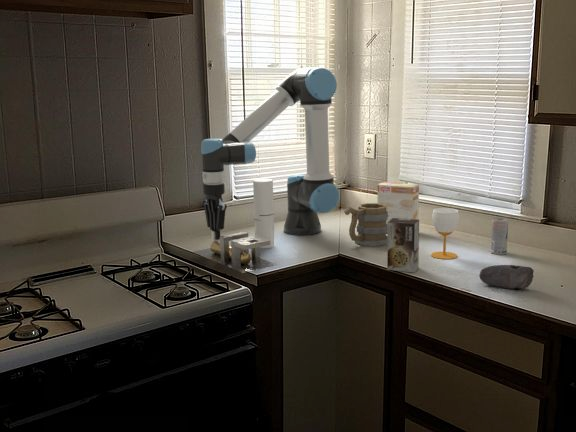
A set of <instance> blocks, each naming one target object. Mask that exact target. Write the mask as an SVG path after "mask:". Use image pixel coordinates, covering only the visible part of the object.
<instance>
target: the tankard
mask: <svg viewBox="0 0 576 432" xmlns="http://www.w3.org/2000/svg"><path fill="white" fill-rule="evenodd" d="M357 207H358V208H357V209H355V208H352V207H350V206H349V207H347V208H346V209H345V210H344V213H345V215H346V216H349V215H350V214H351V221H350V225H349V229H348V231H349V233H348V235H349V237H350V239H351V241H352V242H354V243H355V244H357V245H359V246H363V247H381V246H387V245H388V235H387V234H388V233H387V230H388V229H387V224H386V220H387V218H388V211H386V205H384V204H378V203H377V202H372V203H371V202H367V203H361V204H359V205H358V206H357ZM356 233H357V234H356Z"/></svg>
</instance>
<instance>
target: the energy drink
mask: <svg viewBox="0 0 576 432" xmlns="http://www.w3.org/2000/svg"><path fill="white" fill-rule="evenodd" d="M508 232H509V220H508V219H507V218H504V217H495V218H492V220H491V234H490V235H491V236H490V253H491V254H493V255H497V256H498V255H499V256H502V255H506V254H507V250H508V249H507V248H508Z"/></svg>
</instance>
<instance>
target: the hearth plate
mask: <svg viewBox="0 0 576 432" xmlns="http://www.w3.org/2000/svg"><path fill="white" fill-rule="evenodd" d="M193 252H195V253H194V254H195V255H199V256H201V257H203V258H206V259H208V260H210V261H213V262H215V263H217V264H220V265H223V266H225V267H227V268H230V269H231V270H234V271H237V272H239V273H242V274H244V273H248V272H247V271H245V269H246V268H247V269H250V270H254V271H258V270H262V269H266V268H270V267H275V266H278V264H277V263H276V262H275V263H274V262H272V261H269V260H267V259H264V258H261V257H260V261H259V262H254V261H252V257H251V261H250V263H249V264H247V265H244V264H242V263H241V266H237V267H235V266H233V265H232V259H229V261H227V262H223V261H221V255H219V254H217V253H214V252H212V251H211V249H210V247H209V248H205V249H200V250H194V251H193ZM256 269H257V270H256Z"/></svg>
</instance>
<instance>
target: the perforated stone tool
mask: <svg viewBox="0 0 576 432" xmlns="http://www.w3.org/2000/svg"><path fill="white" fill-rule="evenodd" d="M534 271H535V270H534V269H533V268H532V267H530V266H522V265H513V264H497V265H496V264H495V265H490V266H487V267H484V268H482V269H481V270H480V272H479V279H480V281H482V283H484V284H486V285H488V286H491V287H497V288H501V289H507V290H512V289H518V290H525V289H527V288H529V286H530V285H531V284H532V282H533V279H534Z"/></svg>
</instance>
